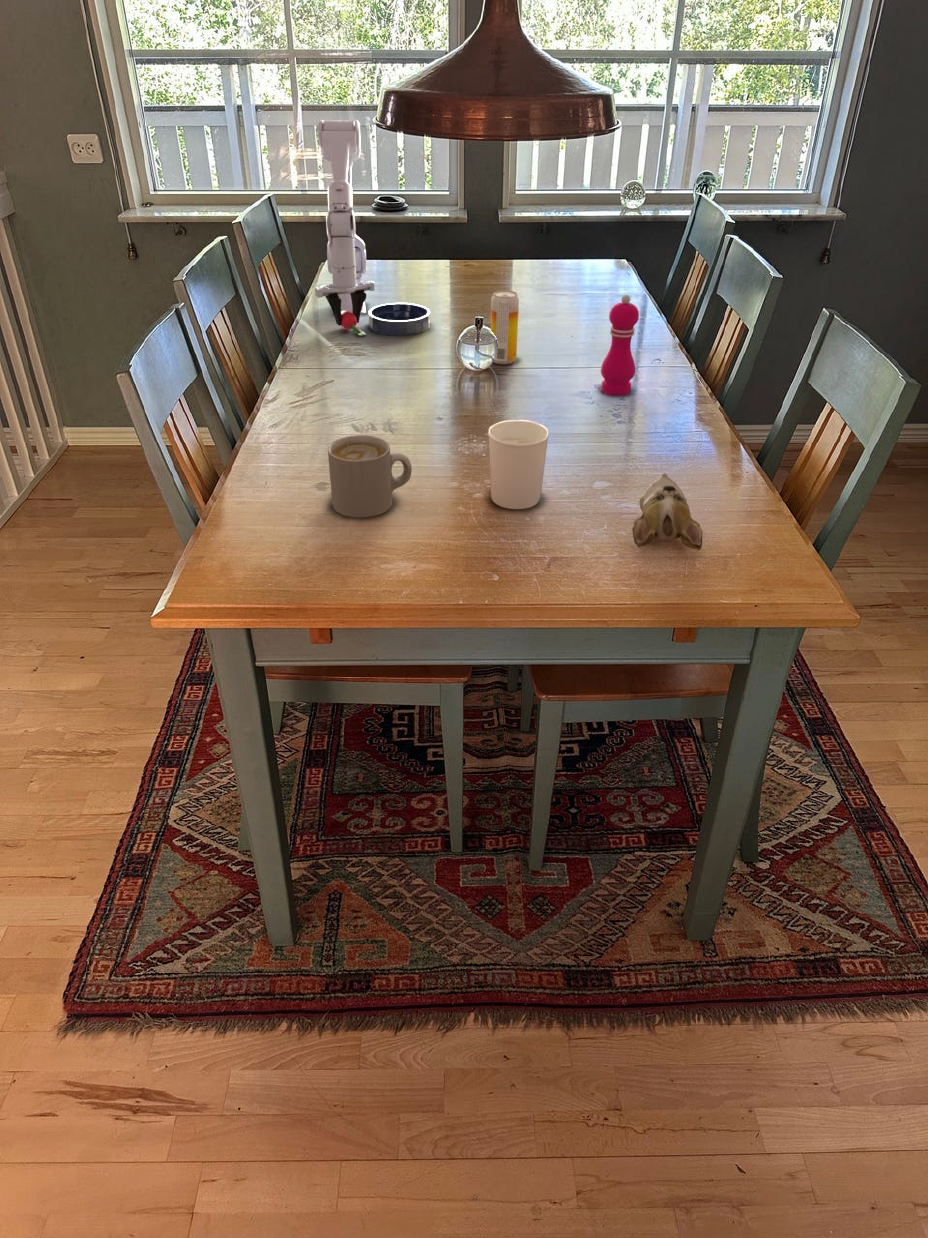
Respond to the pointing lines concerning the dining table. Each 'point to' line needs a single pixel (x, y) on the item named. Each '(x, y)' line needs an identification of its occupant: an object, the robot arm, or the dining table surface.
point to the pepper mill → (620, 349)
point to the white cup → (517, 462)
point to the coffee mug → (364, 475)
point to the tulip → (350, 322)
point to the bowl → (399, 319)
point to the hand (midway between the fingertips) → (347, 323)
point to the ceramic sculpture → (666, 516)
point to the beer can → (505, 324)
